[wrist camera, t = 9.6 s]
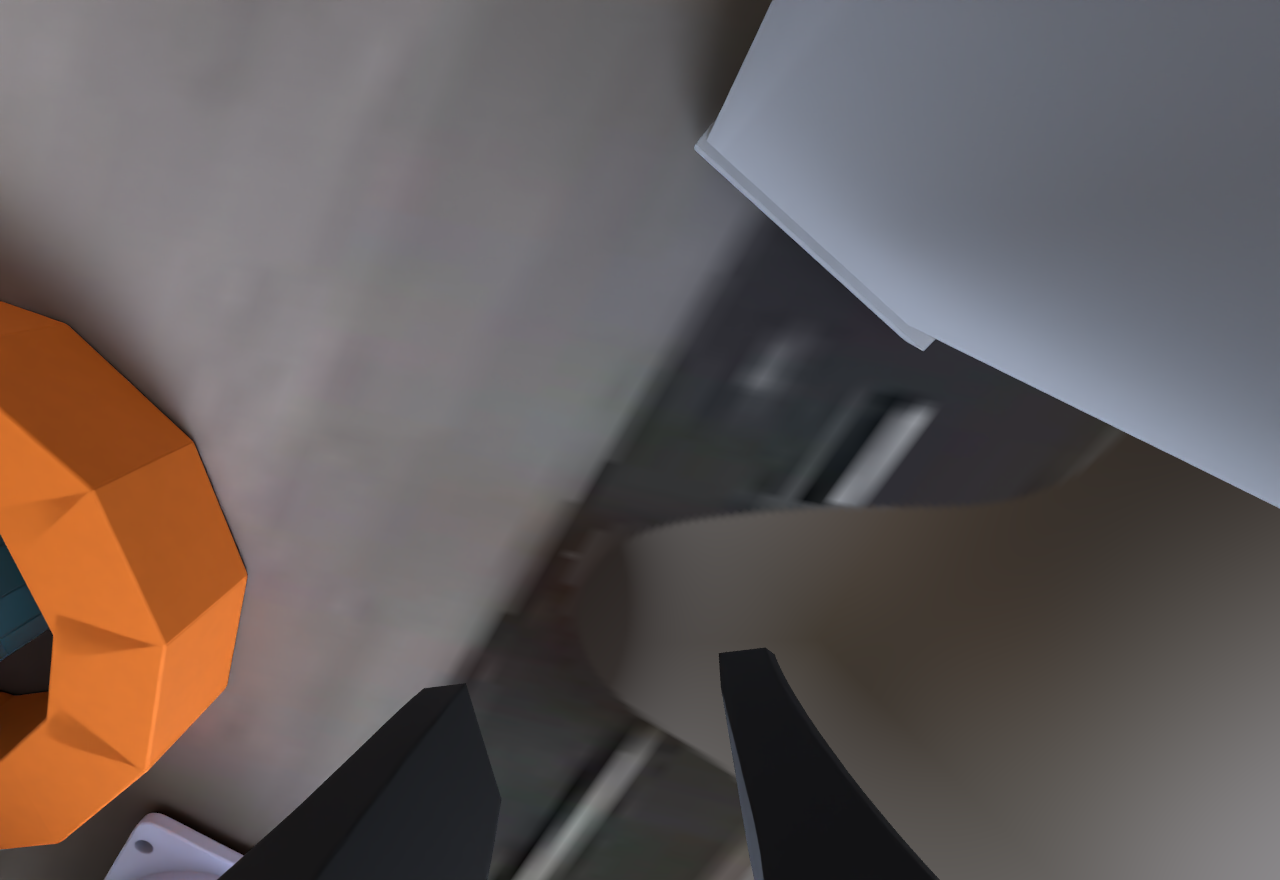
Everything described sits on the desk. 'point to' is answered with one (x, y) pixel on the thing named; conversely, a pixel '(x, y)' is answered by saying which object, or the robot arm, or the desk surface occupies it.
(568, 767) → the desk surface
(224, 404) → the desk surface
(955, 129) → the tall grey leaning box
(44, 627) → the cup
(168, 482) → the ring
